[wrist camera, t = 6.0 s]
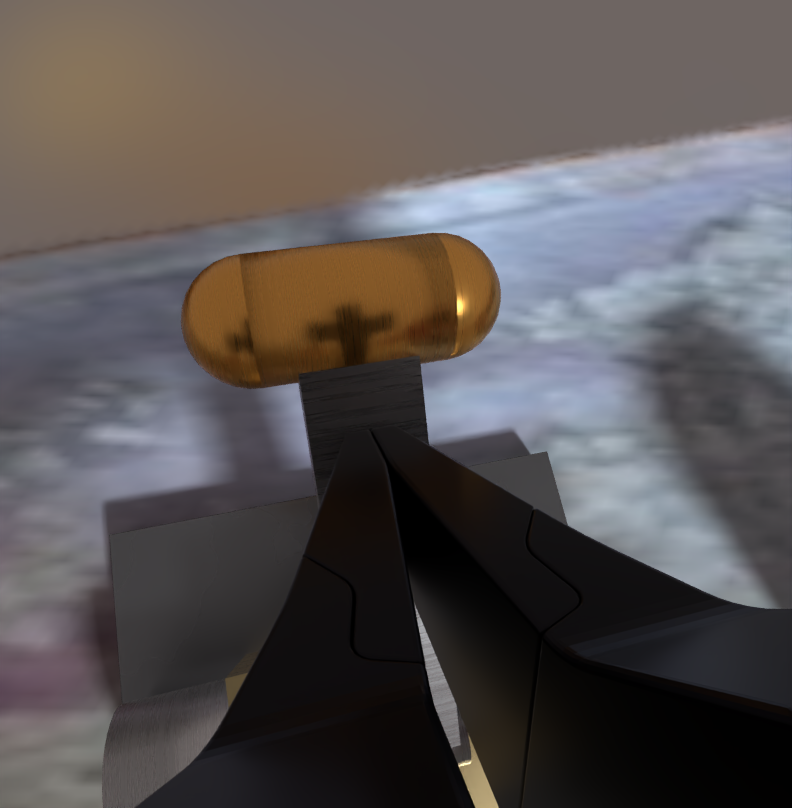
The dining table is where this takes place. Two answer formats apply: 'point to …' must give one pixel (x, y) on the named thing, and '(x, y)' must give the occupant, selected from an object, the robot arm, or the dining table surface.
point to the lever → (348, 346)
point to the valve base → (223, 625)
